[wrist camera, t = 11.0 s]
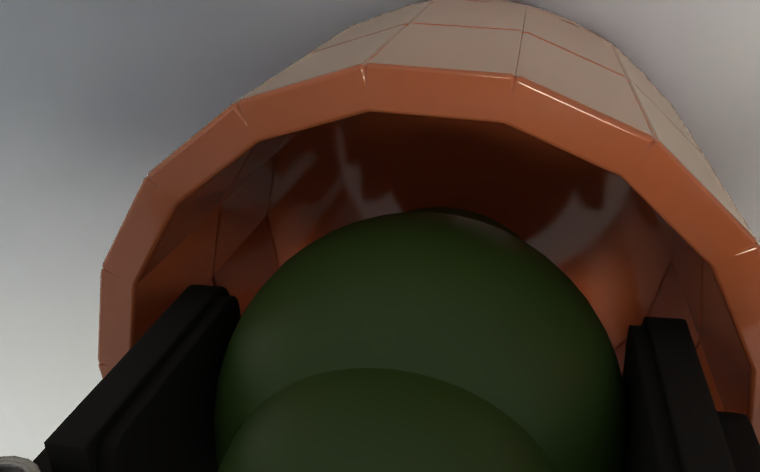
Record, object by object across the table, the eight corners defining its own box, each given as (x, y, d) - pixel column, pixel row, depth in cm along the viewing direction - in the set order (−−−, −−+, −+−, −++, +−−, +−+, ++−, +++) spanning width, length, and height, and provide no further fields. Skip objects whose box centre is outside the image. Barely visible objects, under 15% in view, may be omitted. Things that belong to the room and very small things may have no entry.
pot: (172, 170, 18) (-26, 315, 12) (529, -118, 14) (517, -133, 7) (417, 459, 20) (360, 709, 14) (788, 285, 16) (944, 532, 10)
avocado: (235, 258, 14) (-54, 591, 7) (485, 83, 12) (403, 339, 5) (414, 468, 16) (310, 918, 9) (673, 350, 13) (811, 843, 6)
